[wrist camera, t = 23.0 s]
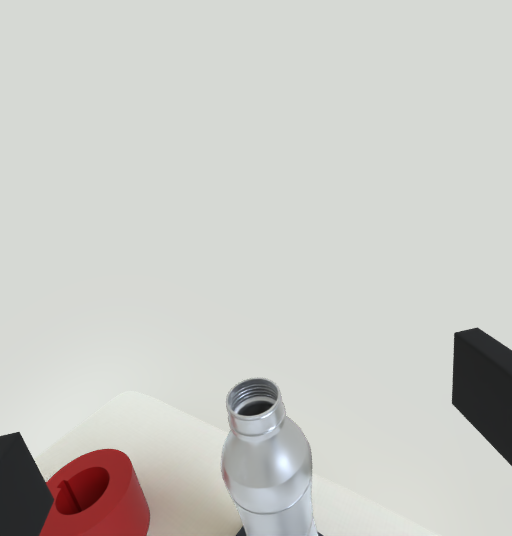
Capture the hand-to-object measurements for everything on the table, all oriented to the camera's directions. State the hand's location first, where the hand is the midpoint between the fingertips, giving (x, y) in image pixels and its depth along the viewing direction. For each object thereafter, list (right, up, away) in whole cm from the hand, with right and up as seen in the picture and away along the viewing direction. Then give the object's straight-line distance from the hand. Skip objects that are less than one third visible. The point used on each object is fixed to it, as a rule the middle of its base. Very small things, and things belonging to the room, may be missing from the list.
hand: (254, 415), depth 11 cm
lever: (-20, -24, +28) cm, 41 cm away
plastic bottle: (+3, -22, +19) cm, 29 cm away
